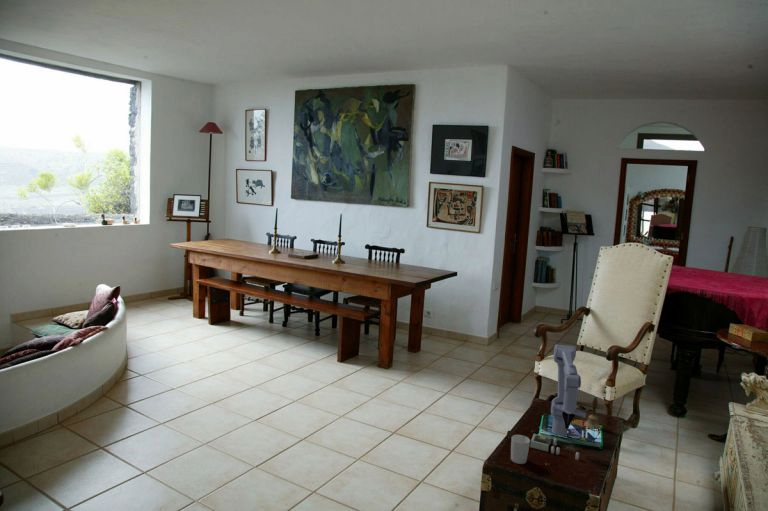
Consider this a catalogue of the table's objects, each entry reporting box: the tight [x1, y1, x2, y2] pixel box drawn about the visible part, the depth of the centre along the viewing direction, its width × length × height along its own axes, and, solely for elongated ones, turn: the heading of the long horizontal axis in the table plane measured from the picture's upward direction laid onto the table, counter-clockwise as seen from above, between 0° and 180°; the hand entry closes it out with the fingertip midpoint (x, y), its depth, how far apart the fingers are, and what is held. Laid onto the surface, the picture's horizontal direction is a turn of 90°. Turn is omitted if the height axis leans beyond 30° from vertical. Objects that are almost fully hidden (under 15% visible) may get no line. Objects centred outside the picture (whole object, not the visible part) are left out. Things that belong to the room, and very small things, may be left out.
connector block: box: [537, 434, 549, 444], centre depth 246 cm, size 4×4×4 cm
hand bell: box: [583, 397, 601, 430], centre depth 269 cm, size 8×8×16 cm
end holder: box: [529, 433, 552, 452], centre depth 247 cm, size 8×8×3 cm
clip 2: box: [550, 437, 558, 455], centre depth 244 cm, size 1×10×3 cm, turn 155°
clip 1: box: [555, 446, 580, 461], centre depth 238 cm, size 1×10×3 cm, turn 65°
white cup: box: [510, 434, 531, 465], centre depth 232 cm, size 8×8×10 cm
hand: (567, 428), depth 243 cm, fingers closed
